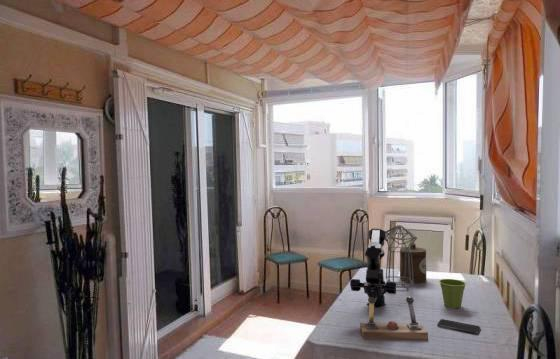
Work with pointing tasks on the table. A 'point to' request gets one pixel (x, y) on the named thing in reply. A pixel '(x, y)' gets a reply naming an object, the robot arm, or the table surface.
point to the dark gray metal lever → (371, 310)
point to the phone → (459, 326)
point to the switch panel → (393, 331)
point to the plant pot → (452, 292)
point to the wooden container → (418, 264)
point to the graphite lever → (411, 310)
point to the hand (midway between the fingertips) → (372, 305)
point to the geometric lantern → (397, 251)
